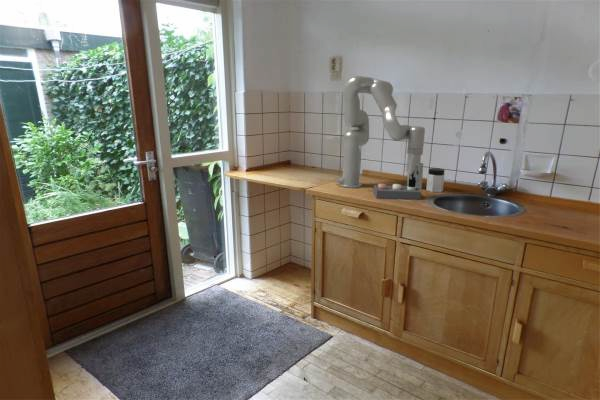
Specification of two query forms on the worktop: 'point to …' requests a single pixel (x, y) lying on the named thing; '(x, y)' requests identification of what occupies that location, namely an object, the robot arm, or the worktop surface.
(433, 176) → the jar
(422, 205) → the worktop surface
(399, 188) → the cream button
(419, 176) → the skincare box
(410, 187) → the sage button
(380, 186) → the terracotta button
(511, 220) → the worktop surface
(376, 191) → the button panel
